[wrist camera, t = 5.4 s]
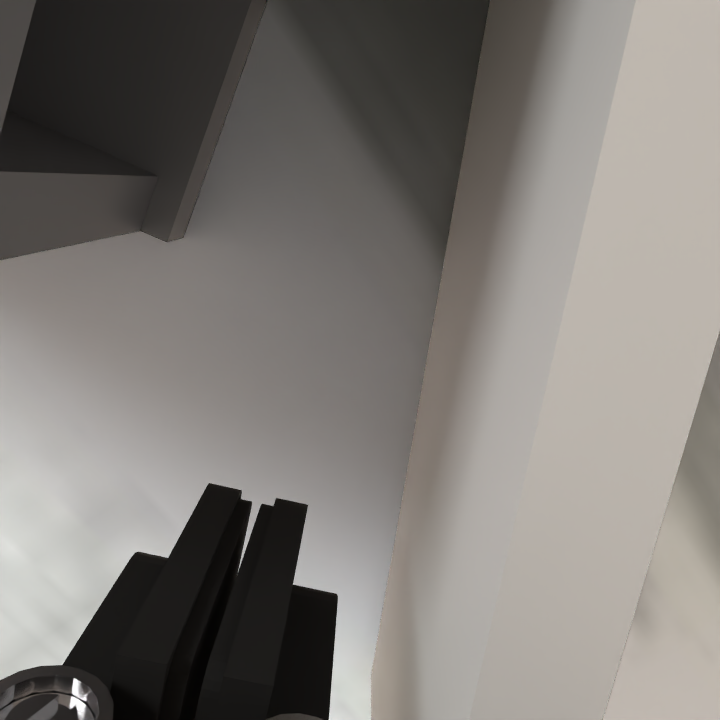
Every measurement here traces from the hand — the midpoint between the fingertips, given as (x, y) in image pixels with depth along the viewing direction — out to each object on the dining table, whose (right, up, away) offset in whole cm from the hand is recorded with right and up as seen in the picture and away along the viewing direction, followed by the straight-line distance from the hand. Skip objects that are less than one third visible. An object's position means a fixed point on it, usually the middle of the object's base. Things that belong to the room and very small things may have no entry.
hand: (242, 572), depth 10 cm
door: (+5, +9, 0) cm, 10 cm away
